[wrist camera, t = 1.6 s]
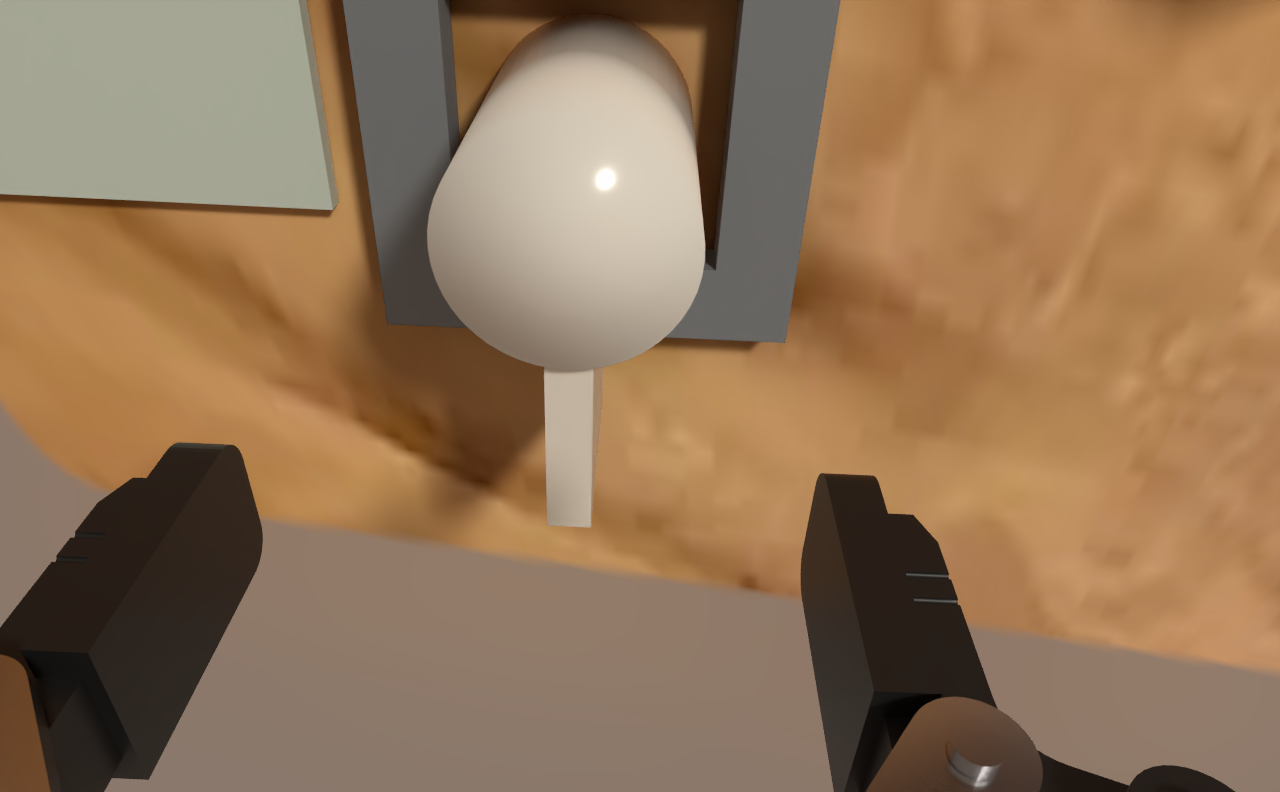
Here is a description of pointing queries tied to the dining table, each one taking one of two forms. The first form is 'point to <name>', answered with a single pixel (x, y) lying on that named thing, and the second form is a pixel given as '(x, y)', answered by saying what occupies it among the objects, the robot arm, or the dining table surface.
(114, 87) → the trivet
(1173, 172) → the dining table surface
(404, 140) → the socket
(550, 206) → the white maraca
